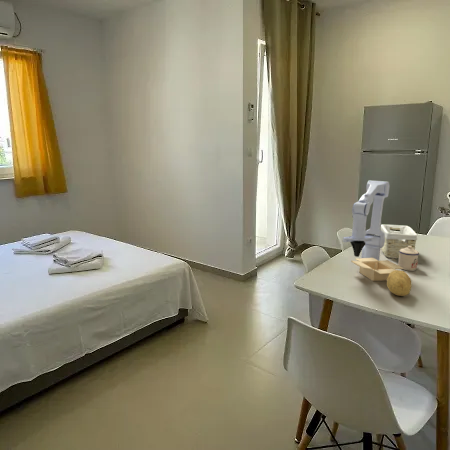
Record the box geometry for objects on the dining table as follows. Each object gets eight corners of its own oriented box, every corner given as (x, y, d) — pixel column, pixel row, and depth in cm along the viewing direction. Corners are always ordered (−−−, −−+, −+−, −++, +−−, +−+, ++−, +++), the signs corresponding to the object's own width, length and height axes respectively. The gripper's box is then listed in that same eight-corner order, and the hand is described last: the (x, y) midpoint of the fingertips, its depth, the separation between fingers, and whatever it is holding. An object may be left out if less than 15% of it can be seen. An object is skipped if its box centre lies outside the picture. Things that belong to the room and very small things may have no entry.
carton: (354, 268, 185) (355, 253, 183) (380, 267, 187) (382, 252, 186) (379, 285, 164) (380, 268, 162) (409, 283, 166) (411, 266, 164)
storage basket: (415, 260, 199) (418, 234, 196) (383, 258, 203) (386, 232, 200) (406, 249, 221) (409, 225, 218) (377, 246, 226) (380, 223, 222)
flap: (360, 261, 178) (360, 262, 178) (351, 260, 177) (351, 261, 177) (372, 268, 168) (372, 269, 168) (363, 267, 167) (362, 268, 167)
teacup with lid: (414, 272, 180) (417, 249, 178) (395, 268, 186) (397, 246, 184) (420, 266, 190) (423, 244, 187) (401, 262, 195) (404, 241, 193)
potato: (413, 291, 157) (415, 270, 155) (407, 302, 146) (409, 280, 144) (388, 285, 163) (390, 265, 161) (380, 296, 151) (382, 274, 149)
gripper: (348, 230, 163) (346, 259, 166) (378, 229, 166) (375, 257, 169) (341, 227, 170) (339, 254, 173) (369, 226, 173) (367, 253, 176)
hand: (356, 256), depth 172 cm, fingers closed
